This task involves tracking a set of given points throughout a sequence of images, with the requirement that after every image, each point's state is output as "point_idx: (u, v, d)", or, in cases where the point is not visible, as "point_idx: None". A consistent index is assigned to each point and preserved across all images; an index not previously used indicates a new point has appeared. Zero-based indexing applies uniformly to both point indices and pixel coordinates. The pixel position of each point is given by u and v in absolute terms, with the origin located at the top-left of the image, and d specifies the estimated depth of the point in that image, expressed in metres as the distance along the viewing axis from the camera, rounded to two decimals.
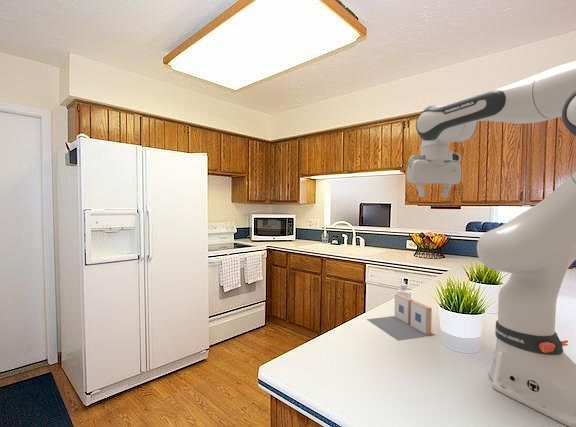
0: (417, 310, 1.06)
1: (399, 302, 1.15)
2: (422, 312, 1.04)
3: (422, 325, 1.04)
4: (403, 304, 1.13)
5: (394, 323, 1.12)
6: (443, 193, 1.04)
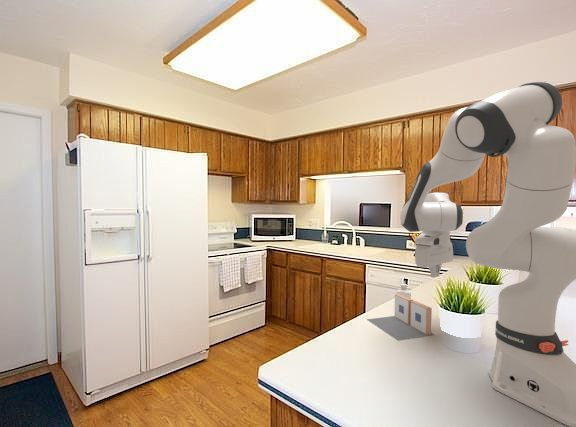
0: (417, 310, 1.06)
1: (399, 302, 1.15)
2: (422, 312, 1.04)
3: (422, 325, 1.04)
4: (403, 304, 1.13)
5: (394, 323, 1.12)
6: None
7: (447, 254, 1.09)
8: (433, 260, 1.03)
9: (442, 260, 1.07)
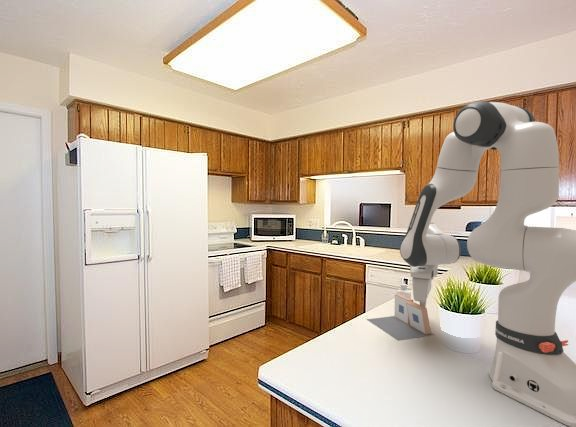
0: (413, 311, 1.05)
1: (399, 302, 1.15)
2: (418, 313, 1.03)
3: (421, 325, 1.03)
4: (403, 304, 1.13)
5: (394, 323, 1.12)
6: None
7: (430, 283, 1.10)
8: (427, 292, 1.01)
9: (429, 290, 1.07)
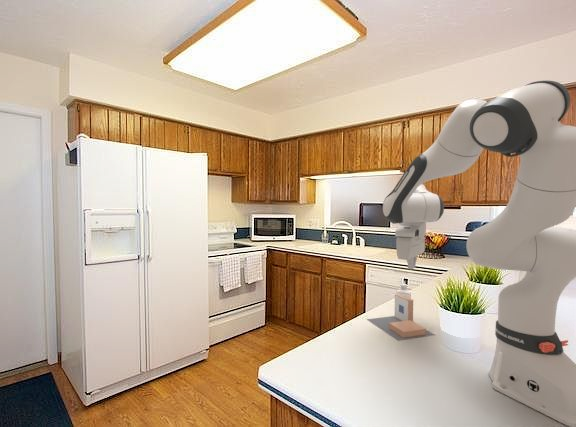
0: None
1: (399, 302, 1.15)
2: None
3: None
4: (403, 304, 1.13)
5: None
6: None
7: (421, 245, 1.10)
8: (413, 251, 1.02)
9: (418, 252, 1.07)
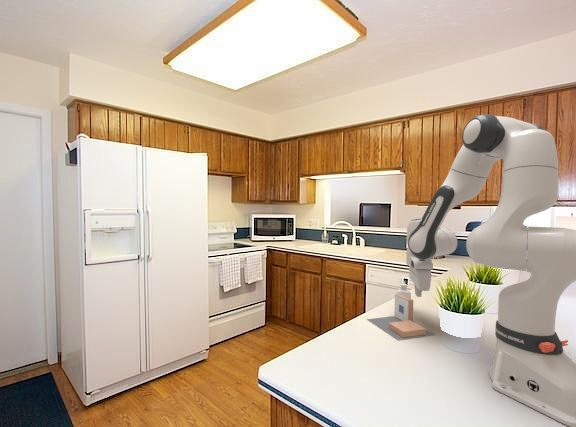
0: None
1: (399, 302, 1.15)
2: None
3: None
4: (403, 304, 1.13)
5: None
6: None
7: None
8: None
9: None
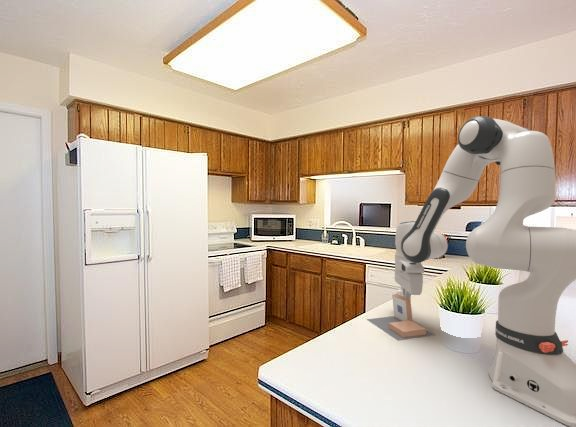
0: None
1: (397, 302, 1.15)
2: None
3: None
4: (401, 304, 1.13)
5: None
6: None
7: None
8: None
9: None
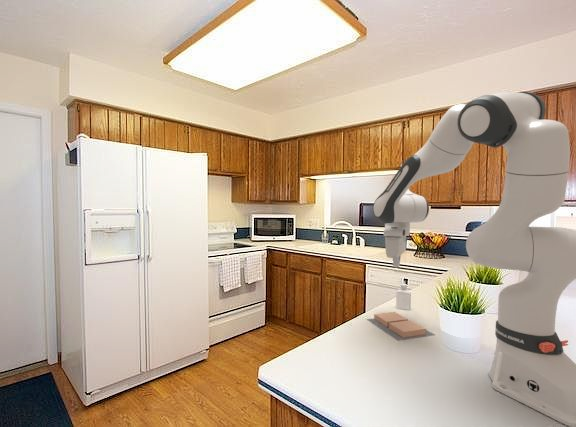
0: None
1: None
2: None
3: None
4: None
5: None
6: None
7: (404, 245, 1.17)
8: (399, 250, 1.08)
9: (402, 251, 1.14)
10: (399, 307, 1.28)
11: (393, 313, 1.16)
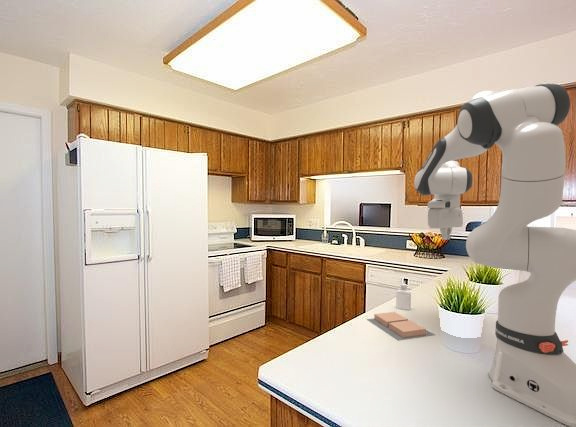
0: None
1: None
2: None
3: None
4: None
5: None
6: None
7: (457, 219, 1.18)
8: (444, 222, 1.12)
9: (453, 224, 1.16)
10: (399, 307, 1.28)
11: (393, 313, 1.16)
